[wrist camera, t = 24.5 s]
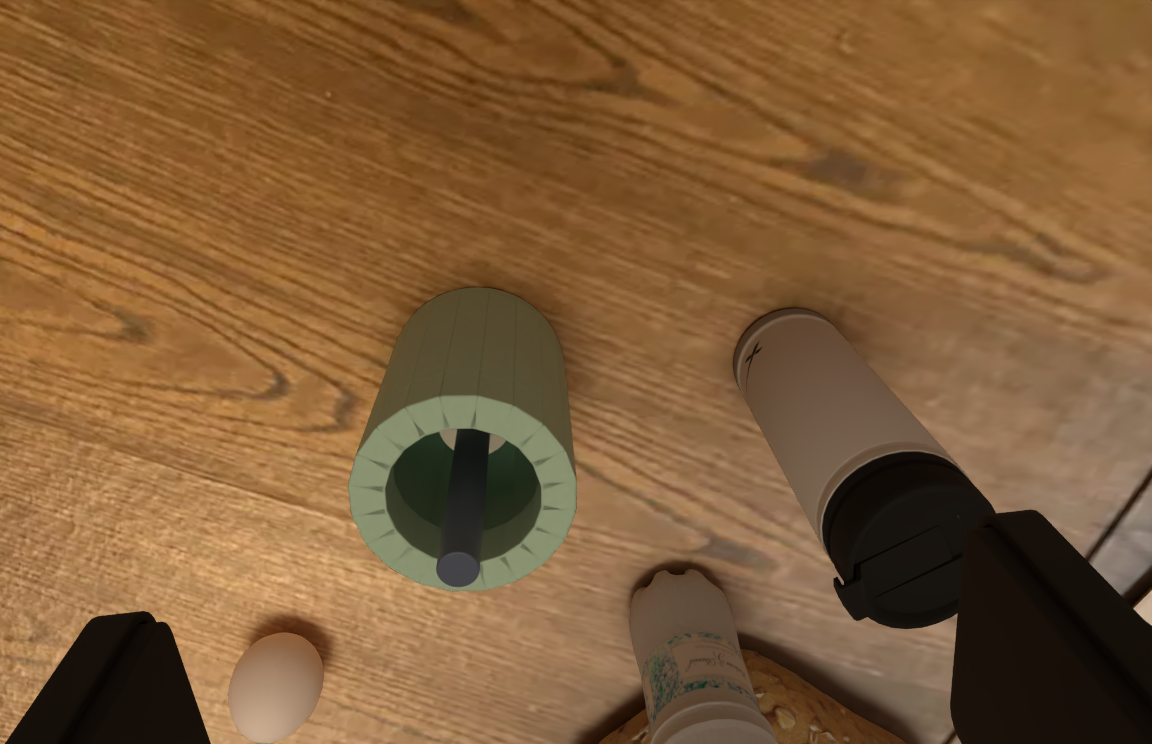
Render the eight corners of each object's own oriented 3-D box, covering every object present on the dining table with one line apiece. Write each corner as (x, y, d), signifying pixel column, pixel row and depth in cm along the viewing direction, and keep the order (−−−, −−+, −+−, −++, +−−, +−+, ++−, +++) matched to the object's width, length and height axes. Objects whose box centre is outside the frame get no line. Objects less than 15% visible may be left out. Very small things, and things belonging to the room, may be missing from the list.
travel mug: (708, 341, 51) (813, 545, 32) (818, 287, 50) (989, 466, 31) (752, 429, 53) (872, 665, 35) (857, 378, 52) (1038, 595, 34)
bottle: (745, 572, 57) (850, 853, 39) (700, 653, 59) (780, 953, 41) (647, 542, 56) (708, 817, 37) (606, 626, 58) (644, 923, 40)
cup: (358, 351, 50) (300, 480, 37) (494, 252, 48) (483, 351, 35) (465, 471, 53) (446, 626, 40) (596, 382, 51) (620, 516, 38)
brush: (433, 369, 50) (388, 563, 33) (485, 332, 49) (465, 511, 32) (474, 416, 51) (450, 625, 34) (525, 381, 50) (526, 577, 34)
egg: (237, 664, 58) (199, 754, 51) (261, 601, 56) (225, 685, 49) (318, 687, 59) (291, 779, 52) (344, 626, 57) (319, 712, 50)
